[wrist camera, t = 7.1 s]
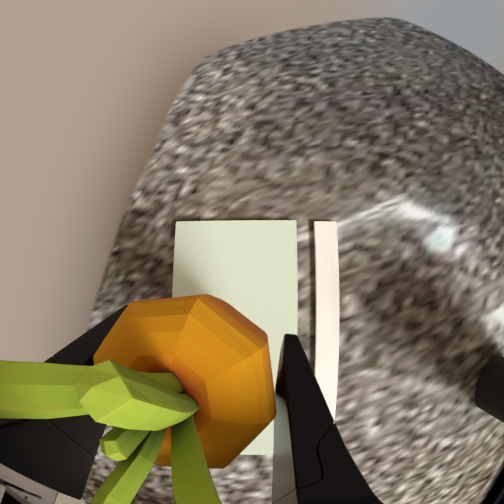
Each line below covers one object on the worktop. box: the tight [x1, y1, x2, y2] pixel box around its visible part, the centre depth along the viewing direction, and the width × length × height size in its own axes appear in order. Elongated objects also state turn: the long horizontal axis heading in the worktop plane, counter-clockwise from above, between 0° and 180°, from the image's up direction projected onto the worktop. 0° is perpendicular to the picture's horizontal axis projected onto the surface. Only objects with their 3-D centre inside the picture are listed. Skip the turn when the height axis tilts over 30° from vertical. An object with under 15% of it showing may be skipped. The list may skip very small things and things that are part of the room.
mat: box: [172, 220, 297, 455], centre depth 18 cm, size 16×8×1 cm, turn 0°
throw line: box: [314, 221, 339, 421], centre depth 18 cm, size 16×2×1 cm, turn 0°
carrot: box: [0, 294, 277, 504], centre depth 9 cm, size 5×5×15 cm
